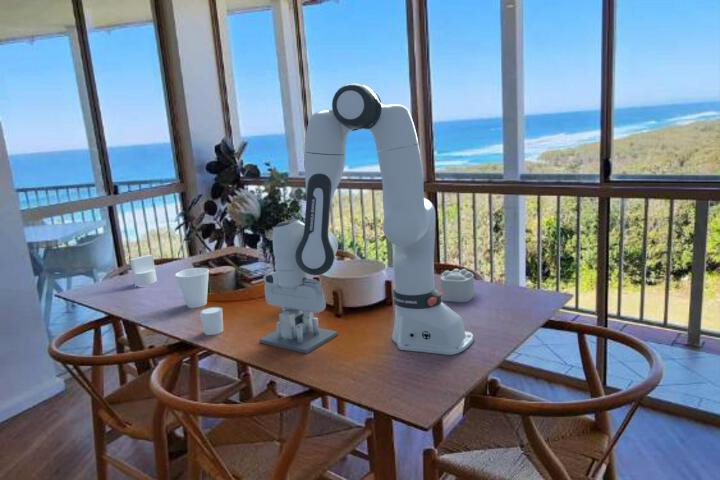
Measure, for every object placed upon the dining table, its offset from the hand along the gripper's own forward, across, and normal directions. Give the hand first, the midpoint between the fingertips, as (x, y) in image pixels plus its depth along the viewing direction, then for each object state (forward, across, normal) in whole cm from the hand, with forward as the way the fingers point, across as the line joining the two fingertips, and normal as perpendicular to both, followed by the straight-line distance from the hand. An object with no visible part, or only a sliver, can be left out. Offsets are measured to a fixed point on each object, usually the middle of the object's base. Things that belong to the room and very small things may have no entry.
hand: (297, 322), depth 151 cm
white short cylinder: (+5, +29, +7) cm, 30 cm away
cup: (+5, +56, -8) cm, 57 cm away
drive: (+3, 0, 0) cm, 3 cm away
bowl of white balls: (+6, -27, -52) cm, 59 cm away
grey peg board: (+5, 0, 0) cm, 5 cm away
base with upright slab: (+5, +101, -17) cm, 103 cm away
